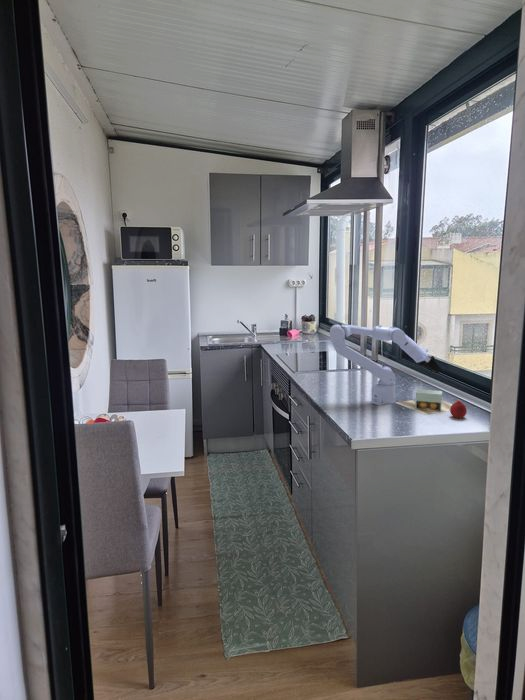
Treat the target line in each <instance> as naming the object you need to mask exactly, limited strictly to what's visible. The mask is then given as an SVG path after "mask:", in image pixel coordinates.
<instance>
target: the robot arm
mask: <svg viewBox="0 0 525 700" xmlns="http://www.w3.org/2000/svg"><path fill="white" fill-rule="evenodd" d="M351 335H361V336H370V337H372V338H373V340H379V341H387V342H389V341H392V342H393V343H395V344H397V346H399V348H400V349H402V351H404V352H405V353H406V355H408V356H409V357H410V358H411V359H413V361H414V362H416V364H417V365H419V366H422V367H424V368H426V369H428V370H429V371H430V372H435V373H437V374H439V373H440V372H441V371H442V369H441V367H440V366H439V364H438V362H437V361H436V359H435V356H434V355H431V356H429V354H428V352H429V350H428V349H423V348H422V347H421V346H420V345H419V344H417V343H416V341H414V340H413V339H412V338H411V337H410V336H408V335H407V334H406V333H405V331H404V330H402V329H400V328H399V327H396V326H390V327H387V326H383V325H381V324H378V325H375V326H373V327H365V326H359V325H352V324H338V323H337V324H333V325H331V327H330V329H329V337H330V342H331V344H332V346H333V348H334V350H335V353H337V354H338V355H340V356H341V357H343V358H345V359H347V360H348V361H350V362H352V363H353V364H356V365H357V366H359V367H361V368H362V369H364V370H366V371H367V372H369V373H371V374H372V375H373V376H375V377H376V378H378V379H379V380H378V381H377V384H374V385H372V387H371V401H370V404H374V405H375V406H381V405H386V404H387V405H389V404H394V403H396V402H395V401H396V400H395V399H396V397H395V393H396V379H397V378H396V376H397V375H396V374H395V372H394V371H393V369H392V368H391V367H389V366H383V365H382V364H379V363H377V362H375V361H373V360H372V359H370V358H368V357H366V356H365V355H363V354H361V353H360V352H358V351H356V350H355V349H353V348H351V347H349V346H348V345H347V344H346V340H345V339H346V338H348V337H350V336H351Z"/></svg>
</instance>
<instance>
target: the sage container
mask: <svg viewBox="0 0 525 700" xmlns="http://www.w3.org/2000/svg"><path fill="white" fill-rule="evenodd" d="M414 400H415V409H416V407H417V406H420V402H421V401H424V402H427V407H430V403H431V402H436V403H437V407H439V408H440V411H441V406H442V401H443V391H442V390H430V389H418V388H417V389H416V390H415V399H414Z"/></svg>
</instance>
